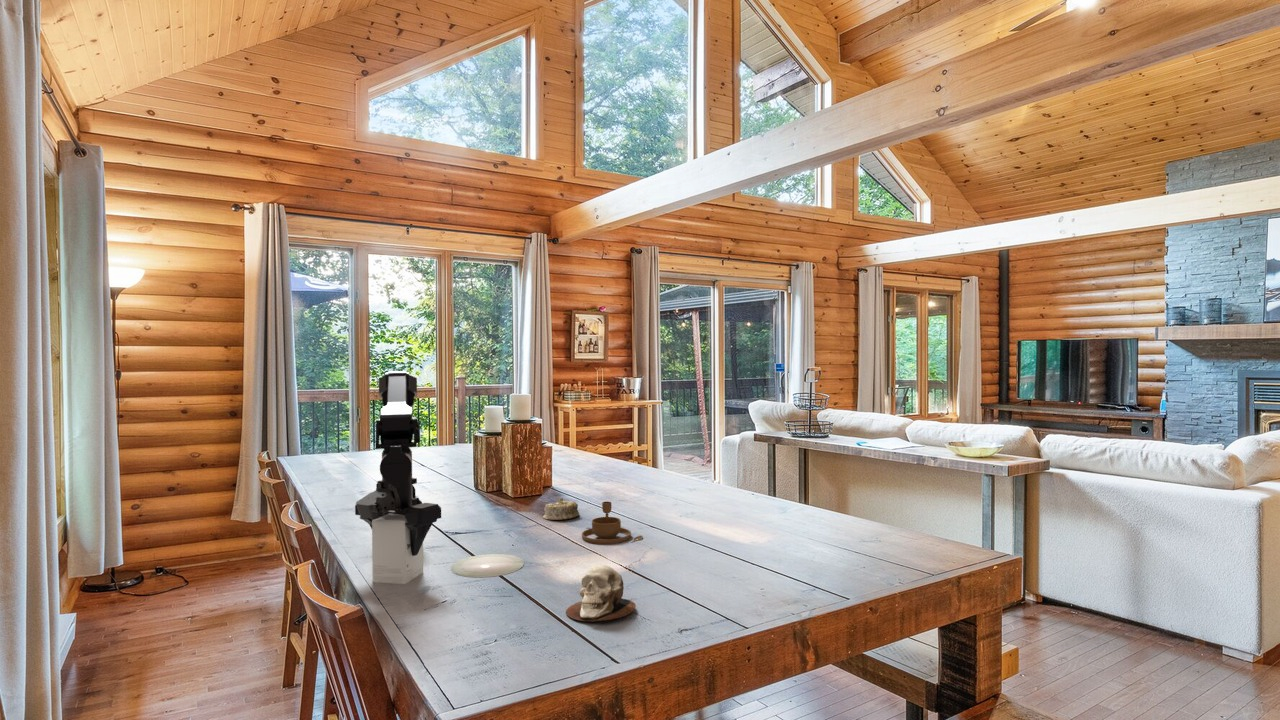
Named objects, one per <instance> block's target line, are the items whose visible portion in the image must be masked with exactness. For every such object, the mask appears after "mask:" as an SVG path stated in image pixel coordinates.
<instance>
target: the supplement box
mask: <svg viewBox="0 0 1280 720" xmlns="http://www.w3.org/2000/svg"><path fill="white" fill-rule="evenodd" d="M405 523H409V522H408V521H407V520H406V518H405V515H399V514H391V513H388V514H386V515H384V516H381V517H379V518H377V519H374V520H372V529H371V536H372V537H371V542H372V543H371V544H372V545H371V546H372V549H371V550H372V551H371V554H372V555H371V556H372V558H371V559H372V567H371V569H372V582H373V583H381V584H397V585H398V584H399V585H406V584H408V583H410V581H412V580H414V579H415V578H417V577H419V576H420V575H422V574H423V573H424V542H423V543H422V546H421V548H420V550H419V552H418V554H417V555H415V556H412V552H411V541H410V530H409V529H408V528H407V527H406V525H405Z"/></svg>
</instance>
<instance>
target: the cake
mask: <svg viewBox="0 0 1280 720" xmlns="http://www.w3.org/2000/svg"><path fill="white" fill-rule="evenodd" d="M578 507H579V505H578V504H577V502H576V501H572V500H564V499H563V498H562V497H558V498H557V502H556V503H545V505H544V515H543V516H542V518H543V519H545V520H551V521H552V520H553V521H554V520H557V521H558V520H559V521H560V520H568V519H572V518H576V517H578V516H579V515H580V512H579V510H578Z"/></svg>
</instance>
